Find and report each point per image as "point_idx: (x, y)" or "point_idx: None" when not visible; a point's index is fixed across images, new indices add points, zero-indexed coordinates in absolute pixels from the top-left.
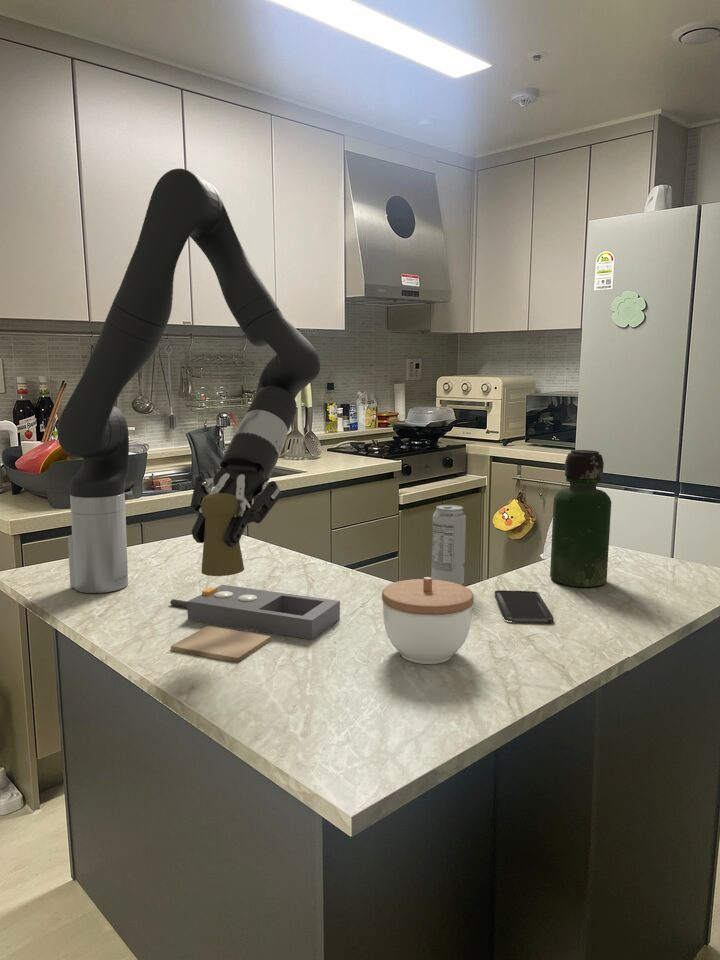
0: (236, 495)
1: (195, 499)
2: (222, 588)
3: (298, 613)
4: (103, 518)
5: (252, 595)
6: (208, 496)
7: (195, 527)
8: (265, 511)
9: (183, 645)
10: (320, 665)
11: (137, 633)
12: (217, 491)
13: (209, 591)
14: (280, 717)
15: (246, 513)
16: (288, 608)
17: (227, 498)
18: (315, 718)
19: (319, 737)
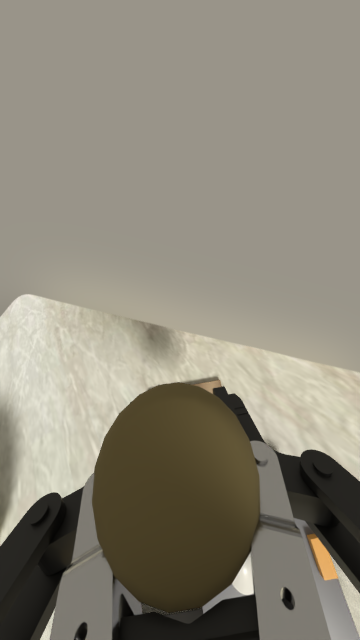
0: (109, 599)
1: (356, 501)
2: (333, 609)
3: (174, 617)
4: None
5: (246, 590)
6: (194, 415)
7: (238, 407)
8: (10, 617)
9: (211, 387)
10: (77, 431)
11: (284, 395)
12: (266, 605)
13: (312, 545)
14: (77, 337)
15: (79, 505)
16: (193, 620)
17: (104, 448)
18: (55, 347)
19: (47, 331)
